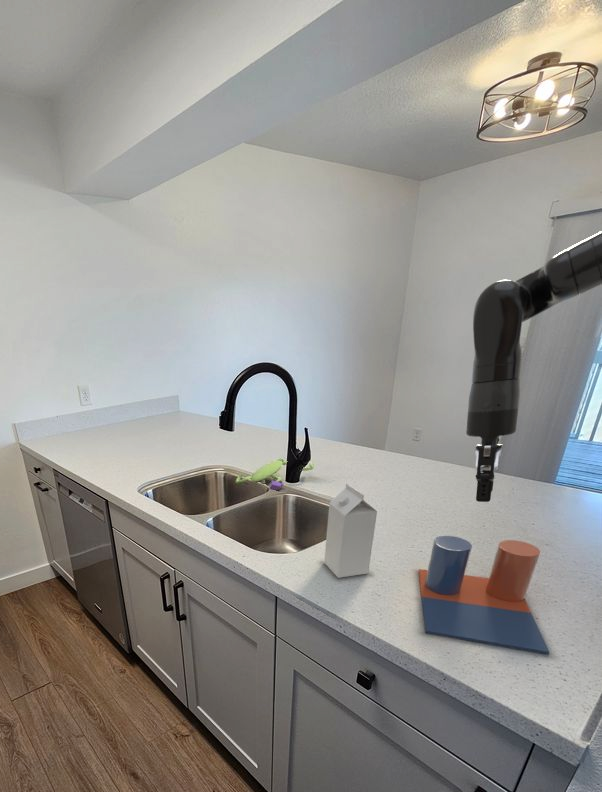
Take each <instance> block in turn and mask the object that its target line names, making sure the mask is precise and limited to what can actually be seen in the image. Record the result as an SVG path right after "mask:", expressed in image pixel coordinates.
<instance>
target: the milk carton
mask: <svg viewBox="0 0 602 792" xmlns="http://www.w3.org/2000/svg"><path fill="white" fill-rule="evenodd" d="M364 497H365V494H364V493H362V492H361V491H359V490H357V489H356V488H355V487H353V486H352V485H350V484H348V483H345V488H344V489H342V491H340V492H339V494H338V495H336V496H335V497H334V498H333V499H332V500H331V501H330V502H329V505H328V515H327V526H326V537H325V540H326V541H325V548H324V558H323V559H324V562H323V563H324V564H325V566H326V567H327V568H328V569H329V570H330V571H331V572H332V574H334V575H335V576H336V577H337V578H338V579H340V578H347V577H354V576H359V575H367V574H369V571H370V565H371V558H372V557H371V555H372V550H373V543H374V535H375V528H376V522H377V514H378V511H377V510H376V509H375V508H374V507H373V506H371V504H369V503H368V502H367V501H365V500H364Z"/></svg>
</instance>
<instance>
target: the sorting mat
mask: <svg viewBox="0 0 602 792" xmlns="http://www.w3.org/2000/svg"><path fill="white" fill-rule="evenodd" d="M427 571H428V569H420V568H419V569H418V577H419V578H418V579H419V587H420V589H419V590H420V596H421V605H422V606H421V607H422V615H423V624H424V632H425V633H424V634H429V635H434V636H439V637H445V638H451V639H456V640H463V641H468V642H474V643H480V644H484V645H485V644H486V645H492V646H496V647H501V648H502V647H503V648H507V649H514V650H518V651H525V652H530V653H536V654H542V655H549V654H550V649H549V648H548V645H547V644H546V641H545V639H544V637H543V635H542V633H541V631H540V629H539V627H538V623H537V621H536V620H535V618H534V615H533V614H532V612H531V608H530V607H529V605H528V603H527V600H526V597H525V598H524V599H523V600H522V601H519V602H509V601H504V600H500V599H497V598H495V597H493V596H491V595H490V594H489V593H488V592H487V591H486V586H487V582H488V579H489V577H483V576H482V577H481V576H476V575H475V576H473V575H467V574H465V575H464V579H463V583H462V586H461V590H460V592H459V593H458V594H455V595H442V594H438V593H435V592H433V591H431V590H429V589H428V588H427V587H426V585H425V581H426V576H427Z"/></svg>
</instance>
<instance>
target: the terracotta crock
mask: <svg viewBox="0 0 602 792" xmlns="http://www.w3.org/2000/svg"><path fill="white" fill-rule="evenodd" d="M540 555H541V550H540V549H539V548H538V547H537V546H536V545H534V544H531V543H528V542H525V541H522V540H515V539H506V540H502V541H500V542H499V543H498V544H497V548H496V552H495V556H494V559H493V562H492V566H491V569H490V573H489V576H488V578H489V579H488V582H487V586H486V591H487V592H488V593H489V594H490V595H491V596H493V597H495V598H497V599H500V600H504V601H509V602H519V601H522V600H523V599H524V598H525V599H526V596H527V593H528V589H529V587H530V584H531V581H532V577H533V575H534V572H535V569H536V566H537V563H538V560H539V558H540Z"/></svg>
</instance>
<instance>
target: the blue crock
mask: <svg viewBox="0 0 602 792" xmlns="http://www.w3.org/2000/svg"><path fill="white" fill-rule="evenodd" d="M472 548H473V545H472V543H471V542H470V541H468V540H467V539H465V538H462V537H458V536H454V535H440V536H437V537H435V538H434V539H433V544H432V549H431V553H430V558H429V563H428V566H427V570H428V571H427V576H426V581H425V585H426V587H427V588H428V589H429V590H431V591H433V592H435V593H438V594H442V595H455V594H458V593H459V592H460V590H461V586H462V583H463V579H464V575H466V571H467V567H468V563H469V560H470V555H471V553H472Z"/></svg>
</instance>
